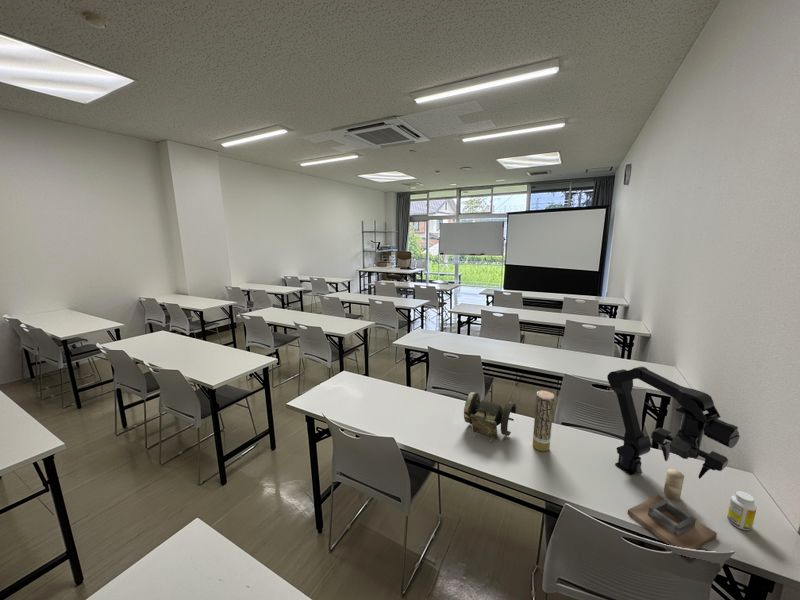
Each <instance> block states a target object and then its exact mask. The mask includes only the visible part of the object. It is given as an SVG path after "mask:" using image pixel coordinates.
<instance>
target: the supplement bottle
mask: <svg viewBox="0 0 800 600" xmlns="http://www.w3.org/2000/svg"><path fill="white" fill-rule="evenodd" d="M729 501H730V502H729V506H728V511H727V514H726V515H727V516H726V518H727V521H728V522H730V524H732V526H735V527H736V528H738V529H741V530H743V531H751V530H752V528H753V526H754V523H755V516H756V512H757V505H756V504H755V498H754V497H753V496H752V495H750V494H749V493H747V492H745V491H740V490H739V491H738V490H737V491H736V492H735V495H732V496H731V497H730V500H729Z"/></svg>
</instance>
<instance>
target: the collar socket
mask: <svg viewBox="0 0 800 600" xmlns="http://www.w3.org/2000/svg"><path fill="white" fill-rule="evenodd" d="M627 514H628V515H629V516H630V517H631V518H632V519H634V520H635V521H637V522H638V523H639V524H641V525H642V526H643V527H644V528H645V529H647V530H648V531H649V532H651V533H652V534H654V535H655V536H656V537H657V538H658V539H660V540H661V541H663V542H664V543H666V544H667V545H668V544H669V545H673V546H677V547H682V548H690V549H697V550H699V549H700V548H702V547H704V546H705V545H706V544H708V543H710V542H712V541H713V540H714V539H716V538H717V536H718V533H716V532H715V531H714V530H712V529H711V528H709V527H708V526H706V525H705V524H703V523H702V522H700V521H699V520H697V519H696V518H695V517H694V516H693V515H690V514H689V513H688V512H685V511H684V510H682V509H681V507H680V508H679V507H678V506H677V505H675V504H674V503H672V502H671V501H669V500H668V499H666V498H664V497H662V496H660V495H658V494H657V495H656V496H653V497H651V498H650V499H647V500H645V501H643V502H642V503H639V504H637V505H635V506H633V507H631V508H629V509H627ZM669 545H668V546H669Z"/></svg>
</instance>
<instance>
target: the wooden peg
mask: <svg viewBox="0 0 800 600" xmlns="http://www.w3.org/2000/svg"><path fill="white" fill-rule="evenodd" d="M664 480H665V481H664V487H663V496H665V497H666V498H667V499H669V500H671V501H674V502H675V501H676V502H678V501H680V500H681V495H682V489H683V486H684V485H683V484H684V480H685V475H684V474H683V473H682V472H680V471H679V470H677V469H674V468H668V469H667V471H666V477H665V479H664Z"/></svg>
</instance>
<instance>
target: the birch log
mask: <svg viewBox="0 0 800 600" xmlns="http://www.w3.org/2000/svg"><path fill="white" fill-rule="evenodd" d="M554 405H555V394H554V393H553V392H550V391H549V390H538V391H537V392H536V399H535V411H534V422H533V423H534V424H533V434H532V446H533V448H534V449H536V450H538V451H539V452H547V451H549V449H550V443H551V436H552V425H553V416H554V415H553V414H554Z"/></svg>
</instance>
